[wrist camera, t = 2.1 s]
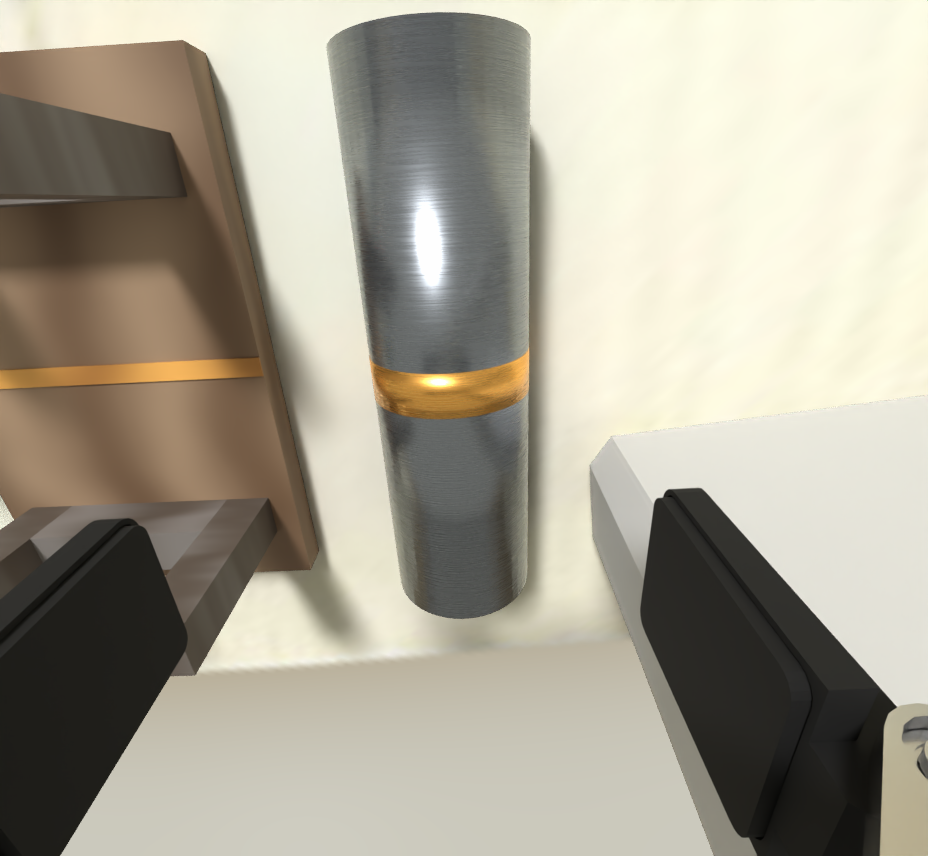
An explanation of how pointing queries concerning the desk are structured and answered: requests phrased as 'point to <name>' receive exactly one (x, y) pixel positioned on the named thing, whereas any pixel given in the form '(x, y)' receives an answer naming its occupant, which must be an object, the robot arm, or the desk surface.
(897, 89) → the desk surface
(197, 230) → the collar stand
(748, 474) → the bevelled white case
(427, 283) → the grey cylinder
